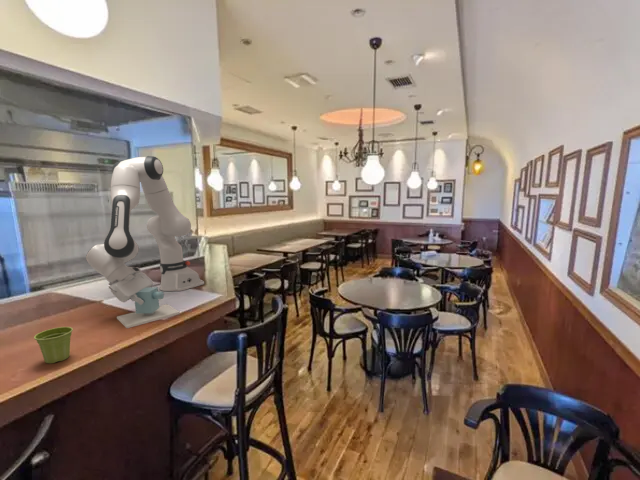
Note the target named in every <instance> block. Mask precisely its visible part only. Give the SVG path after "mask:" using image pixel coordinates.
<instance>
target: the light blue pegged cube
mask: <svg viewBox="0 0 640 480" xmlns="http://www.w3.org/2000/svg"><path fill="white" fill-rule="evenodd" d="M136 295H137V297H139V298H141V299H142V298H143V299H144V300H145V302H144V303H143V304H142V305H140V304H139V303H138V302H135V301H134V306H135V312H136V314H142V313H153V312H154V311H156V310H157V309H159V306H160V300H161V299H162V300H163V298H164V295H165V293H164V291H159V289H158V286H156V287H154V286H151V287H146V288H144V289H142V290H141V291H139V292H137V293H136Z"/></svg>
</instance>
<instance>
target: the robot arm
mask: <svg viewBox="0 0 640 480" xmlns="http://www.w3.org/2000/svg"><path fill="white" fill-rule="evenodd" d="M111 173H112V174H111V180H110V200H111V217H110V228H109V232H108V233H107V235H106V237H105V240H104V243H101V244H100V243H98V244H95V245H93V246H92V247H91V248H89V250H88V252H87V253H86V256H85V259H86V261H87V263H88V265H89V266H91V268H92V269H93V270H94V271H96V273H98V274H100V275H102V276H103V277H104V278H105V280H106V281H108V286H107V287H108V289H109V290H110V292H111V294H113V296H114V297H115V298H116V299H118V301H119V302H120V303H121V302H122V303H126V302H127V301H129V300H131V301H132V302H134V303H135V302H138V303H139V304H140V305H142V304H143V303H144V302H145V300H144V299H143V298H142V299H141V298H139V297H137V295H136V293H137V292H139V291H141V290H142V289H144V288H146V287H153V285H154V281H153V280H152V279H151V278H150V277H149V276H148V275H147V274H146V273H144V272H143V271H142V270H141V268H140V267H138V266H136V267H135V266H128V265H127V263H128V262H130V261H132V260H133V259H134V258H135V257H137V255H138V254H139V250H140V249H139V245H138V244H137V242H136V241H135V240H134V239H133V236H132V234H131V231H130V224H131V223H130V222H131V220H130V219H131V212H132V210H133V209H135V208H137V206H138V205H139V204H140V198H141V187H142V191H143V194H144V197H145V199H146V202H147V204H148V207H149V208H150V209H151V211H153V212H154V213H155V214H156V215H154V216H152V217H150V218H148V220H147V223H146V228H147V232H149V233H150V234H151V235H152V236H153V238H154V240H155V242H156V244H157V246H158V251H159V258H160V263H159V271H160V274H161V278H160V279H161V280H160V286H159V290H160V291H161V292H172V291H173V292H181V291H186V290H188V289H192V288H193V289H194V288H195V287H199V286H203V285H205V281H204V280H202V279H200V276H199V273H198V272H197V271H195V270H194V269H192V268H190V267H188V266H190V265H191V262H190V261H188V260H187V261H186V260H184V255H183V247H182V245H181V244H180V243H179V242H178V241H177V240H176V237H183V236H186V235H188V234H189V233H190V232H191V228H192V223H191V221H190V219H189V218H187V216H185V215H184V214H182V213H181V212H180V210H179V209H178V207H177V206H176V205H175V203H174V202H173V198H172V197H171V193H170V191H169V188H168V185H167V184H166V183H167V182H166V181H165V179H164V177H163V174H164V166H163V163H162V161H161V160H160V158H158V157H156V156H151V155H148V156H139V157H138V156H137V157H136V156H135V157H133V158H128V159H125V160H119V161H116V162H115V163H114V164H113V166H112V168H111Z"/></svg>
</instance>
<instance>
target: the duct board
mask: <svg viewBox="0 0 640 480" xmlns="http://www.w3.org/2000/svg"><path fill="white" fill-rule="evenodd" d="M177 315H181V314H180V311H179V310H178V309H176V308H174V307H173V306H171V305H169V304H167V303H166V304H162V305H159V309H157V310H156V311H154V312H153V313H142V314H136V311H134V312H129V313H125V314H121V315H117V316H116V320H117V321H119V322H120V323H121V324H122V325H123V326H124V328H126V329H129V328H132V327H133V328H134V327H137V326H141V325H144V324H148V323H151V322H156V321H158V320H163V319H166V318H170V317H174V316H177Z"/></svg>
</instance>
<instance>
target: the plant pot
mask: <svg viewBox="0 0 640 480" xmlns="http://www.w3.org/2000/svg"><path fill="white" fill-rule="evenodd" d="M73 330H74V329H73V327H71V326H59V327H53V328H49V329H46V330H43V331H41V332H38V333H36V334H35V335H34V337H33V338H34V340H35V341H36V343H37V344H38V346H39V348H40V352H41V355H42V357H43V361H44V362H45V363H46V364H56V363H57V362H62V361H65V360H66V359H69V358H70V355H71V351H70V350H71V336H72V333H73Z"/></svg>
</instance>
